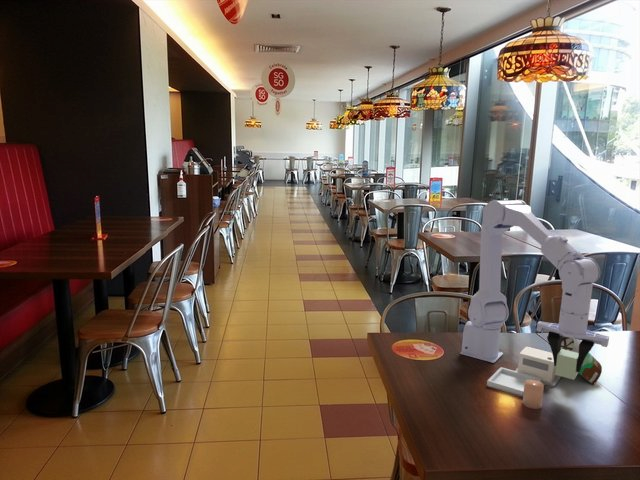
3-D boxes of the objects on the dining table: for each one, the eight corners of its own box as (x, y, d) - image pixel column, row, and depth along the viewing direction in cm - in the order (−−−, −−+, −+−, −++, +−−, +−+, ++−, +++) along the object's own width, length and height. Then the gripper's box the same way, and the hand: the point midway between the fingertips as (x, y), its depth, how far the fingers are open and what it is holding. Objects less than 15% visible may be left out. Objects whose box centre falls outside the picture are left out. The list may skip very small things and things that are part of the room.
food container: (614, 370, 118) (583, 344, 118) (595, 387, 120) (565, 362, 119) (592, 350, 131) (564, 326, 130) (575, 366, 132) (547, 342, 131)
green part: (555, 374, 113) (557, 354, 112) (559, 368, 116) (561, 348, 115) (574, 379, 110) (576, 359, 110) (577, 373, 114) (580, 353, 113)
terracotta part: (520, 404, 111) (522, 384, 110) (525, 398, 114) (527, 377, 113) (538, 410, 108) (541, 389, 107) (543, 403, 111) (545, 383, 110)
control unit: (512, 375, 125) (514, 352, 124) (521, 365, 131) (523, 343, 130) (554, 387, 119) (557, 363, 118) (561, 376, 125) (564, 353, 124)
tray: (486, 385, 119) (487, 380, 119) (500, 372, 127) (500, 367, 127) (529, 399, 113) (530, 393, 113) (541, 383, 121) (541, 378, 121)
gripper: (535, 308, 112) (529, 364, 114) (608, 323, 103) (599, 383, 105) (543, 301, 117) (537, 354, 120) (613, 315, 108) (605, 372, 111)
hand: (567, 367), depth 113 cm, fingers closed on green part, 4 cm apart
